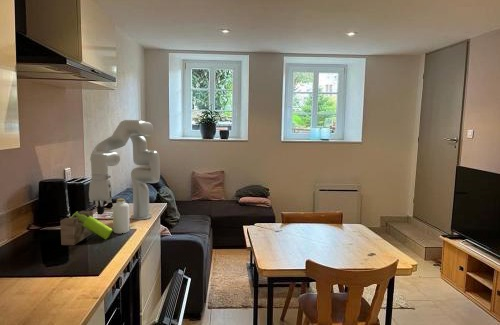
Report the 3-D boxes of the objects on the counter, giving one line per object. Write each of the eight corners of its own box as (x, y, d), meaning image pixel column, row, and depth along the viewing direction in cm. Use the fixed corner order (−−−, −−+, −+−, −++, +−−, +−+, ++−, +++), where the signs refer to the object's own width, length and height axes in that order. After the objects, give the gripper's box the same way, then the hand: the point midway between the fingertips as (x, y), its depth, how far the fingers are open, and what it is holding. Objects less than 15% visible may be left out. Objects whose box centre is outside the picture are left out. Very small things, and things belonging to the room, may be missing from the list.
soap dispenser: (103, 243, 180) (68, 222, 179) (111, 233, 186) (77, 213, 185) (105, 236, 176) (70, 215, 176) (113, 227, 182) (79, 206, 181)
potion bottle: (132, 230, 198) (131, 198, 196) (125, 234, 190) (124, 201, 188) (117, 229, 199) (116, 197, 197) (110, 234, 191) (109, 200, 189)
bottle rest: (82, 232, 192) (81, 210, 191) (93, 233, 192) (92, 211, 191) (61, 245, 172) (60, 220, 171) (73, 245, 172) (72, 220, 171)
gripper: (117, 176, 182) (118, 212, 184) (88, 176, 182) (89, 211, 184) (111, 178, 174) (112, 216, 176) (81, 178, 175) (82, 215, 177)
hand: (100, 213), depth 180 cm, fingers closed
